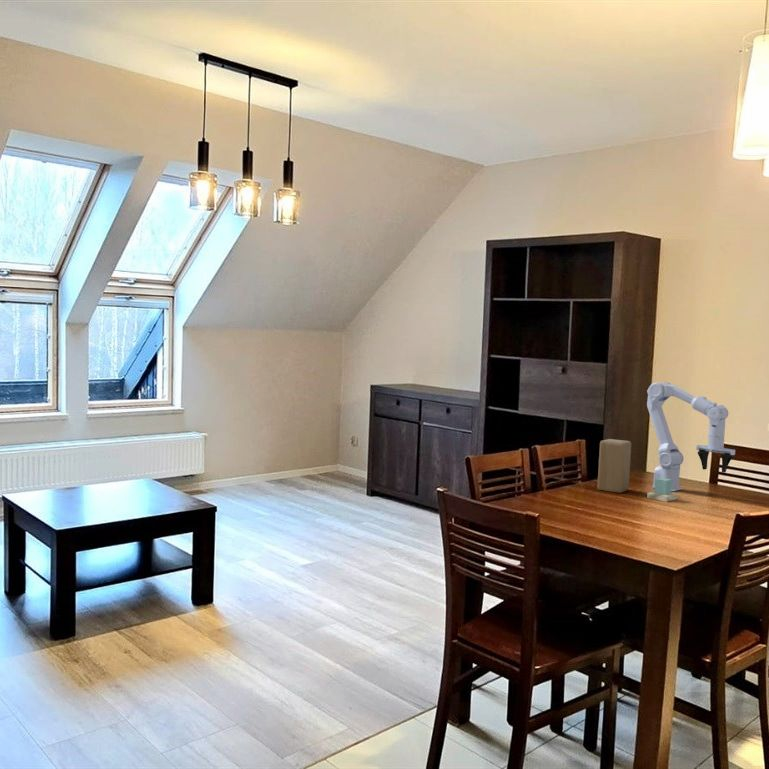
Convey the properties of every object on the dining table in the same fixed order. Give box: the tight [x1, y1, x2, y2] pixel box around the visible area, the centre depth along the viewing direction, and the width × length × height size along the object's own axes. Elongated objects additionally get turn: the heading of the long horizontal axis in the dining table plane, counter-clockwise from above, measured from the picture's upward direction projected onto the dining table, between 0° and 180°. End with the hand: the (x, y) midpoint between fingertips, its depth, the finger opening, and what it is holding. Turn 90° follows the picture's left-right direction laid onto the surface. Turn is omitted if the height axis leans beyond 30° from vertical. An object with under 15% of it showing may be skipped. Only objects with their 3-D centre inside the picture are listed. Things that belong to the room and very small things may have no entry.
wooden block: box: [597, 438, 632, 494], centre depth 308 cm, size 10×10×20 cm
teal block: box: [653, 478, 672, 495], centre depth 295 cm, size 4×4×6 cm
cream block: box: [646, 490, 678, 502], centre depth 296 cm, size 8×8×2 cm
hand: (714, 470), depth 302 cm, fingers open, 7 cm apart
